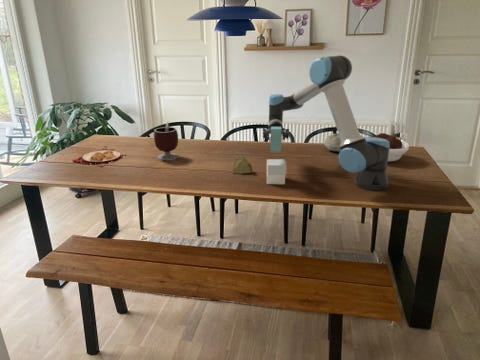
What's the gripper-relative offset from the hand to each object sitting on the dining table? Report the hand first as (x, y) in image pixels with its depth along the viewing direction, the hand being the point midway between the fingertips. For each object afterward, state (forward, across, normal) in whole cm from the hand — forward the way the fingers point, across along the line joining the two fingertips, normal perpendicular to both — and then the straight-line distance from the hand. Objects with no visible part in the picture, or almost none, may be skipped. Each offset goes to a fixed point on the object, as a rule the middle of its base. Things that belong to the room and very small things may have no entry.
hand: (275, 140), depth 178 cm
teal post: (-5, 0, -6) cm, 8 cm away
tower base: (-5, 0, -23) cm, 23 cm away
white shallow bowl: (-42, -63, -23) cm, 79 cm away
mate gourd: (-41, +64, -23) cm, 80 cm away
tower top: (-5, -1, -18) cm, 19 cm away
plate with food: (-37, +103, -24) cm, 112 cm away
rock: (-16, +17, -23) cm, 33 cm away
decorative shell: (-59, -40, -23) cm, 75 cm away
